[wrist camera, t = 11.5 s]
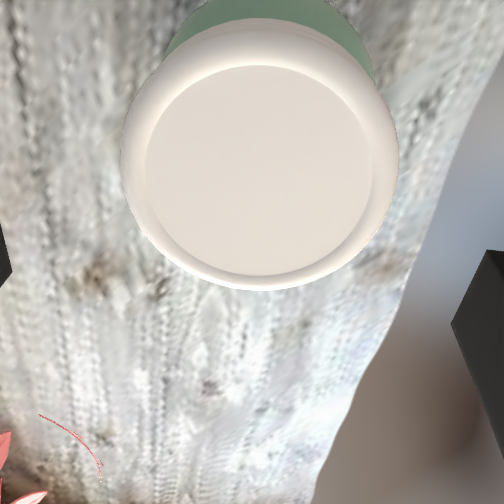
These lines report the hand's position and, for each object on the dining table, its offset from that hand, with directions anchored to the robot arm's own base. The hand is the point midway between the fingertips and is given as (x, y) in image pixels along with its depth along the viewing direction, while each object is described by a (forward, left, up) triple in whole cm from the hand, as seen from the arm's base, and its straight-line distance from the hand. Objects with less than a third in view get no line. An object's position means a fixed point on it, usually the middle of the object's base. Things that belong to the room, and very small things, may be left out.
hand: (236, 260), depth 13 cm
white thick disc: (0, 0, -8) cm, 8 cm away
